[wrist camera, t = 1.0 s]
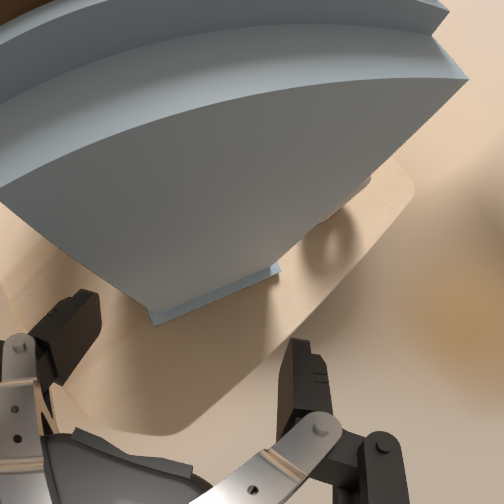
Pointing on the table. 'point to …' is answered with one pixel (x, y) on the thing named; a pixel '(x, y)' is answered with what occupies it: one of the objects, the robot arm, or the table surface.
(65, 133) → the pale blue pedestal
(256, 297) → the table surface
